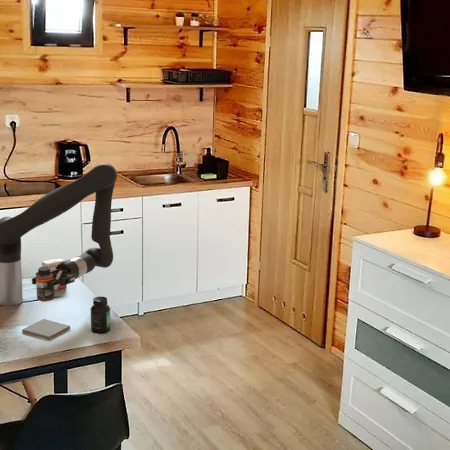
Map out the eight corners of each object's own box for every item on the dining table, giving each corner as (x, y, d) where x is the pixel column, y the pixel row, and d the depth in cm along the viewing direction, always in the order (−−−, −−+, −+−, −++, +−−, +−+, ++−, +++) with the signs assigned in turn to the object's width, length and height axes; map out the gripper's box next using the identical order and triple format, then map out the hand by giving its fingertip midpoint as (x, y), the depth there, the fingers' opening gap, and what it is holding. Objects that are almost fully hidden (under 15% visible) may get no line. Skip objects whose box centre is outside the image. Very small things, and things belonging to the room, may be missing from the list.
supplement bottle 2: (113, 332, 249) (113, 300, 246) (95, 336, 245) (95, 303, 242) (105, 325, 255) (105, 294, 252) (87, 329, 251) (87, 297, 248)
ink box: (61, 284, 294) (60, 257, 291) (67, 287, 291) (66, 260, 288) (42, 288, 289) (41, 260, 286) (47, 291, 285) (46, 264, 282)
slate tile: (22, 332, 246) (22, 329, 246) (43, 321, 256) (43, 318, 255) (49, 339, 241) (49, 336, 241) (70, 328, 251) (70, 325, 250)
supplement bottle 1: (47, 294, 249) (46, 264, 246) (58, 298, 246) (56, 267, 243) (33, 299, 245) (31, 268, 242) (43, 303, 241) (42, 272, 238)
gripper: (55, 256, 258) (23, 269, 244) (87, 263, 252) (56, 276, 237) (56, 275, 260) (24, 289, 246) (87, 282, 254) (57, 297, 239)
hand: (40, 283), depth 242 cm, fingers closed on supplement bottle 1, 6 cm apart
